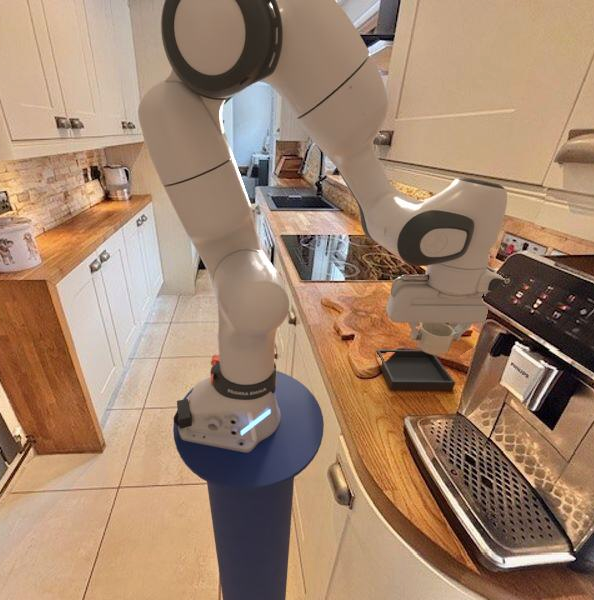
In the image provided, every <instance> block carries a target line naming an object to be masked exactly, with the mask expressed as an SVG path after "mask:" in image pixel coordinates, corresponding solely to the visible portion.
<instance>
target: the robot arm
mask: <svg viewBox="0 0 594 600" xmlns="http://www.w3.org/2000/svg"><path fill="white" fill-rule="evenodd" d="M160 20H161V21H160V28H161V29H160V32H161V40H162V41H161V42H162V46H163V49H164V52H165V56H166V59H167V61H168V63H169V65H170V67H171V72H170V74H169V75H168V77H167V78H166V79H165V80H163V81H160V82H158V83H156V84H155V85H153V86H152V87H151V88H150V89H148V90H147V91H146V93H144V95H143V97H142V98H141V99H140V101H139V104H138V109H137V117H138V121H139V125H140V129H141V132H142V136H143V139H144V142H145V146H146V148H147V151H148V154H149V157H150V159H151V161H152V164H153V166H154V170H155V171H156V174H157V176H158V178H159V180H160V182H161V185H162V186H163V188H164V191H165V192H166V195H167V197H168V199H169V201H170V203H171V205H172V207H173V209H174V212H175V213H176V215H177V217H178V218H179V221H180V223H181V226H182V227H183V230H184V232H185V233H186V235H187V237H188V239H189V240H190V241H191V243H192V245H193V247H194V249H195V250H196V252H197V254H198V256H199V258H200V259H201V261H202V263H203V265H204V267H205V269H206V271H207V273H208V276H209V279H210V281H211V284H212V287H213V289H214V294H215V299H216V304H217V313H218V316H217V317H218V330H217V335H216V336H217V348H218V350H217V351H218V354H213V355H212V356H211V361H210V365H211V368H210V374H209V375H207V376H205V377H203V378H201V379H199V380H198V381H197V382H196V383H195V385H194V386H193V387H192V388H193V390H192V393H191V394H190V395H189V396H188V397H187V399H184V398H183V399H179V400H176V405H177V406H176V408H177V409H178V412H177V411H176V412H177V413H176V412H175V414H174V416H173V424H174V423H175V424H176V425H178V430H179V435H180V437H181V439H182V440H184V441H189V442H194V443H199V444H204V445H209V446H214V447H219V448H224V449H229V450H235V451H240V452H245V453H248V452H250V451H252V450H253V449H254V448H255V446H256V445H257V444H258V443H259V442H260V441H262V440H263V439H265V438H267V437H269V436H270V435H271V434H272V433H273V432H274V431H275V430H276V429H277V427H278V425H279V423H280V419H281V413H280V409H279V407H278V404H277V400H276V395H275V389H276V384H277V371H278V369H277V364H276V361H275V352H276V351H275V349H276V347H275V346H276V344H275V343H276V334H277V330H278V328H280V326H281V325H282V324H283V323H284V322H285V320H286V318H287V316H288V314H289V311H290V298H289V295H288V291H287V286H286V284H285V281H284V278H283V277H282V275H281V274H280V273H279V271H278V270H277V268H276V267H275V266H274V265H273V263H272V262H271V261H270V259H269V257H268V256H267V254H266V253H265V251H264V249H263V246H262V244H261V241H260V238H259V235H258V232H257V228H256V223H255V219H254V215H253V206H252V204H251V200H250V199H249V196H248V193H247V190H246V188H245V185H244V182H243V179H242V177H241V176H242V175H241V173H240V171H239V167H238V166H237V165H238V164H237V162H236V160H235V159H236V158H235V156H234V154H233V151H232V148H231V145H230V143H229V141H228V137H227V134H226V132H225V127H224V121H223V108H224V105H226V104H227V103H228V102H229V101H230V100H231V99H232V98H233V97H234V96H235V97H236V96H237V95H239V94H240V93H243V91H245V90H246V89H247V88H248V87H250V86H252V85H253V84H256V83H259V82H260V83H264V84H266V85H268V86H269V87H271V88H272V89H273V90H275V91H276V92H277V94H278V95H279V96H280V97H281V98H282V100H283V101H284V102H285V104H286V105H287V107H288V109H289V110H290V112H291V113H292V115H293V116H294V118H295V120H297V122H298V124H299V126H301V128H302V130H303V131H304V132H305V133H306V135H307V136H308V137H309V138H310V140H311V141H312V142H313V143H314V145H315V146H316V147H317V148H318V149H319V151H321V152H322V154H324V155H325V156H326V158H328V161H330V162H331V163H332V164H333V166H334V167H335V168H336V169H337V171H338V173H339V175H340V176H341V178H342V180H343V182H344V183H345V185H346V186H347V188H348V190H349V192H350V193H351V195H352V196H353V198H354V200H355V202H356V204H357V206H358V210H359V216H360V217H359V218H360V224H361V228H362V231H363V233H364V235H365V237H366V238H367V239H368V240H369V241H371V242H372V243H374V244H376V245H378V246H380V247H382V248H383V249H384V250H386V251H387V252H389V253H390V254H392V255H393V256H395V257H397V258H398V259H399V260H401V261H402V262H404V263H406V264H408V265H411V266H415V267H426V270H425V272H424V273H425V274H402V275H401V276H399V277H397V278H395V279H394V280H393V281H392V283H391V286H390V295H389V296H388V300H387V303H386V307H385V313H386V315H387V317H388V318H389V319H390V321H391V322H393V323H396V324H399V323H400V324H401V323H402V324H403V323H404V324H405V323H406V324H408V326H409V328H410V332H409V338H410V339H411V340H412V341H416V340H421V337H422V333H421V332H420V330H419V327H420V324H421V323H459V324H458V325H457V326H456V327H455V328H454V331H455V335H454V338H453V341H452V342H459V341H460V340H461V337H462V335H463V334H464V333H465V332H467V331H468V330H469V329H470V328H471V327H472V324H485V323H484V322H485V320H486V318H487V314H488V309H487V307H486V306H485V305H484V303H483V301H482V296H483V294H484V296H486V294H487V293H488V292H491V291H493V290H494V288H495V287H496V286H497V285H499V284H500V283H502V282H503V280H505V278H503V277H502V276H501V275H499V274H497V273H496V272H497V271H498V270H497V269H495V268H494V267H491V266H489V262H490V255H489V254H490V251H491V249H492V247H493V246H494V245H495V243H496V242H497V240H498V237H499V234H500V231H501V228H502V225H503V222H504V219H505V214H506V210H507V205H508V193H507V189H506V188H505V187H504V186H502V185H501V184H499V183H495V182H491V181H485V180H480V179H476V178H472V177H471V178H470V177H460V178H456V179H454V180H453V182H452V183H451V184H450V185H449V186H448V187H445V189H443V190H442V191H440V192H438V193H437V194H434V195H432V196H430V197H428V198H425V199H418V198H415V197H412V196H410V195H408V194H406V193H404V192H402V191H400V190H398V189H397V188H396V187H394V186H393V184H392V183H391V181H390V179H389V178H388V175H387V174H386V171H385V170H384V168H383V166H382V164H381V161H380V159H379V157H378V155H377V153H376V150H375V148H374V139H375V138H376V137H377V135H378V134H379V133H380V132H381V130H382V127H383V126H384V123H385V121H386V118H387V114H388V110H389V99H388V94H387V91H386V87H385V84H384V80H383V78H382V75H381V72H380V70H379V68H378V66H377V64H376V62H375V60H374V58H373V57H372V54H371V52H370V50H369V48H368V47H367V45H366V43H365V41H364V39H363V38H362V36H361V35H360V33H359V31H358V29H357V28H356V26H355V24H354V23H353V21H352V20H351V19H350V17H349V15H348V14H347V13H346V11H345V10H344V9H343V8H342V6H341V5H340V4H339V2H338V1H337V0H164V2H163V6H162V11H161V18H160ZM178 419H179V421H178ZM240 444H243V445H240Z"/></svg>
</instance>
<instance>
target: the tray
mask: <svg viewBox="0 0 594 600" xmlns="http://www.w3.org/2000/svg"><path fill="white" fill-rule="evenodd" d="M376 352H377V354H378V355H379V357H380V358H381V360H382V364H383V365H382V367H379V369H380V371H381V373H382V375H383V378H384V380H385V382H386V384H387V386H388V388H389V390H390V391H422V392H423V391H424V392H425V391H426V392H427V391H432V392H433V391H434V392H435V391H436V392H453V390H454V387H455V384H456V381H455V380H454V379H453V377H452V376H451V375H450V373H449V371H448V370H447V369H446V367H445V366H444V365H443V363H442V362H441V361H440V360H439V358H438V357H437V355H432V354H428V353H426V352H424V351H422V350H421V349H376ZM376 352H375V353H376ZM386 352H395V353H396V356H393V357H392V358H391V359H390V360H388V361H387V362H386V363H385V361H384V359H383V357H382V355H381V353H386Z"/></svg>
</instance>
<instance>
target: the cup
mask: <svg viewBox="0 0 594 600" xmlns="http://www.w3.org/2000/svg"><path fill="white" fill-rule="evenodd" d="M418 329H419V330H420V332H421V333H422V337H421V340H415V344H416V345H417V347H418V348H419V350H422V351H424V352H426V353H428V354H432V355H436V356H443V355H445V354H448V352H450V349H451V346H452V343H453V342H454V341H453V338H454V335H455V331H454V329H453V328H452V327H451V326H449V325H447V324H445V323H420V324H419V326H418Z"/></svg>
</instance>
